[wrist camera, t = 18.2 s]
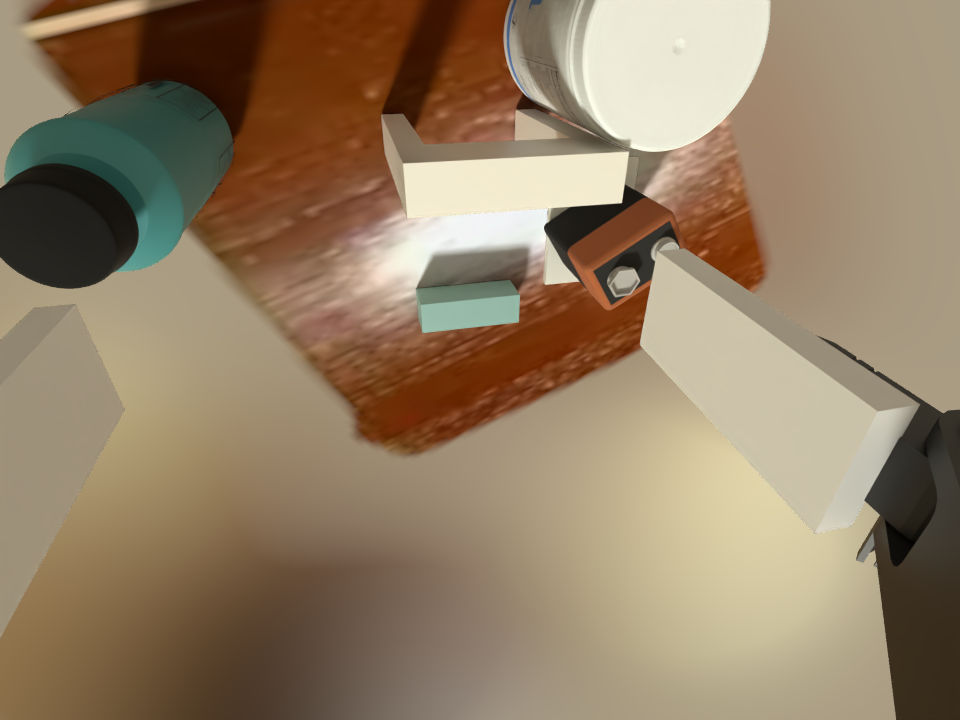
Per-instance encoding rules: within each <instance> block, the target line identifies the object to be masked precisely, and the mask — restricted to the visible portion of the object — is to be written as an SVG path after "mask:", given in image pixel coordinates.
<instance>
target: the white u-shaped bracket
mask: <svg viewBox="0 0 960 720" xmlns="http://www.w3.org/2000/svg"><path fill="white" fill-rule="evenodd" d="M381 119H382V129H383V140H384V150H385V155H386V158H387V161H388V164H389V167H390V170H391V173H392V176H393V178H394V181H395V184H396V187H397V190H398V193H399V196H400V199H401V201H402V204H403V207H404V210H405V213H406V216H407V218H420V217H434V216H448V215H462V214H476V213H490V212H504V211H518V210H532V209H546V208H560V207H574V206H587V205H601V204H615V203H622V199H623V192H624V185H625V178H626V171H627V164H628V157H629V151H627V150H624V149H622V148H620V147H618V146H616V145H613V144H611V143H609V142H607V141H605V140H603V139H600V138H598V137H596V136H594V135H592V134H589V133H587V132H585V131H583V130H581V129H578V128H576V127H574V126H572V125H570V124H568V123H565V122H563V121H561V120H559V119H557V118H554V117H552V116H550V115H548V114H546V113H543V112H541V111H539V110H537V109H522V110H516V118H515V140H514V141H493V142H471V143H450V144H428V145H424V143H423V142H422V140H421V139H420V138H419V136H418V135H417V133H416V132H415V130H414V129H413V127H412V126H411V124H410V123H409V121H408V120H407V119H406V117H405V116H404V114H381Z"/></svg>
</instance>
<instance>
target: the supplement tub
mask: <svg viewBox="0 0 960 720" xmlns="http://www.w3.org/2000/svg"><path fill="white" fill-rule="evenodd" d="M769 23H770V0H511V1H510V4H509V7H508V10H507V14H506V18H505V25H504V49H505V56H506V60H507V64H508V67H509V70H510V73H511V75H512V77H513V79H514V81H515V83H516V84H517V86H518V87H519V88H520V90H521V91H522V92H523V93H524V94H525V95H526V96H527V97H528V98H529V99H530V100H532V101H533V102H534V103H536V104H538V105H540V106H542V107H543V108H545V109H547V110H549V111H551V112H553V113H555V114H557V115H559V116H561V117H563V118H565V119H567V120H569V121H571V122H573V123H575V124H577V125H579V126H581V127H583V128H585V129H587V130H589V131H591V132H593V133H595V134H597V135H598V136H601V137H603V138H605V139H607V140H609V141H611V142H613V143H615V144H618V145H620V146H623V147H627V148H633V149H638V150H642V151H651V152H658V151H667V150H672V149H676V148H679V147H682V146H685V145H687V144H690V143H692V142H694V141H696V140H697V139H699V138H701V137H702V136H704V135H705V134H707V133H708V132H710V131H711V130H712V129H713V128H715V127H716V126H717V125H718V124H719V123H720V122H722V121H723V120H724V119H725V118H726V117H727V115H728V114H729V113H730V112H731V111H732V110H733V109H734V107H735V106H736V105H737V103H738V102H739V101H740V99H741V98H742V97H743V95H744V94H745V92H746V90H747V89H748V87H749V85H750V83H751V81H752V79H753V78H754V75H755V73H756V71H757V69H758V66H759V64H760V61H761V59H762V56H763V52H764V49H765V45H766V42H767V36H768V31H769Z"/></svg>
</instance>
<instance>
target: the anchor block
mask: <svg viewBox="0 0 960 720" xmlns="http://www.w3.org/2000/svg"><path fill="white" fill-rule="evenodd" d="M416 295H417V309H418V318H419V321H420V325H421V329H422V332H423V333H427V332H435V331H444V330H453V329H462V328H471V327H480V326H489V325H498V324H507V323H516V322H519V302H520V294H519V293H518V291H517V290H516V288H515V287H514V285H513V284H512V282H511V281H510V280H502V281H492V282H481V283H471V284H461V285H450V286H440V287H429V288H419V289H416Z"/></svg>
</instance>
